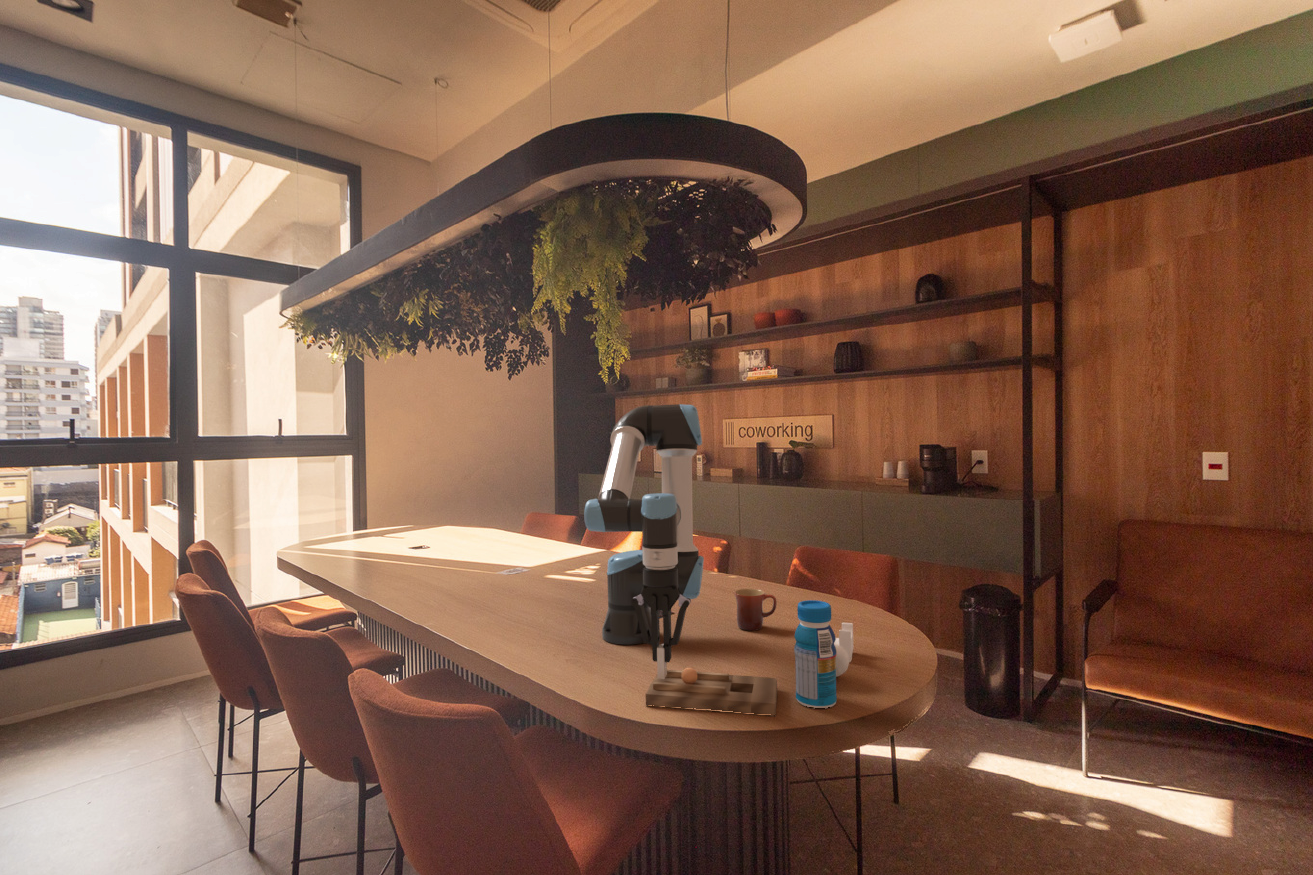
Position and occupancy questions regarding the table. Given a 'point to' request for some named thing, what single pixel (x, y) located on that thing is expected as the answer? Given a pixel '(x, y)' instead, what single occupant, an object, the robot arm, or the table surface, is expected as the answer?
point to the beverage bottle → (815, 655)
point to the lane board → (715, 692)
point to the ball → (689, 676)
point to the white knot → (841, 660)
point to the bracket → (846, 638)
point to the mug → (752, 608)
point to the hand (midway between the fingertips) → (662, 676)
